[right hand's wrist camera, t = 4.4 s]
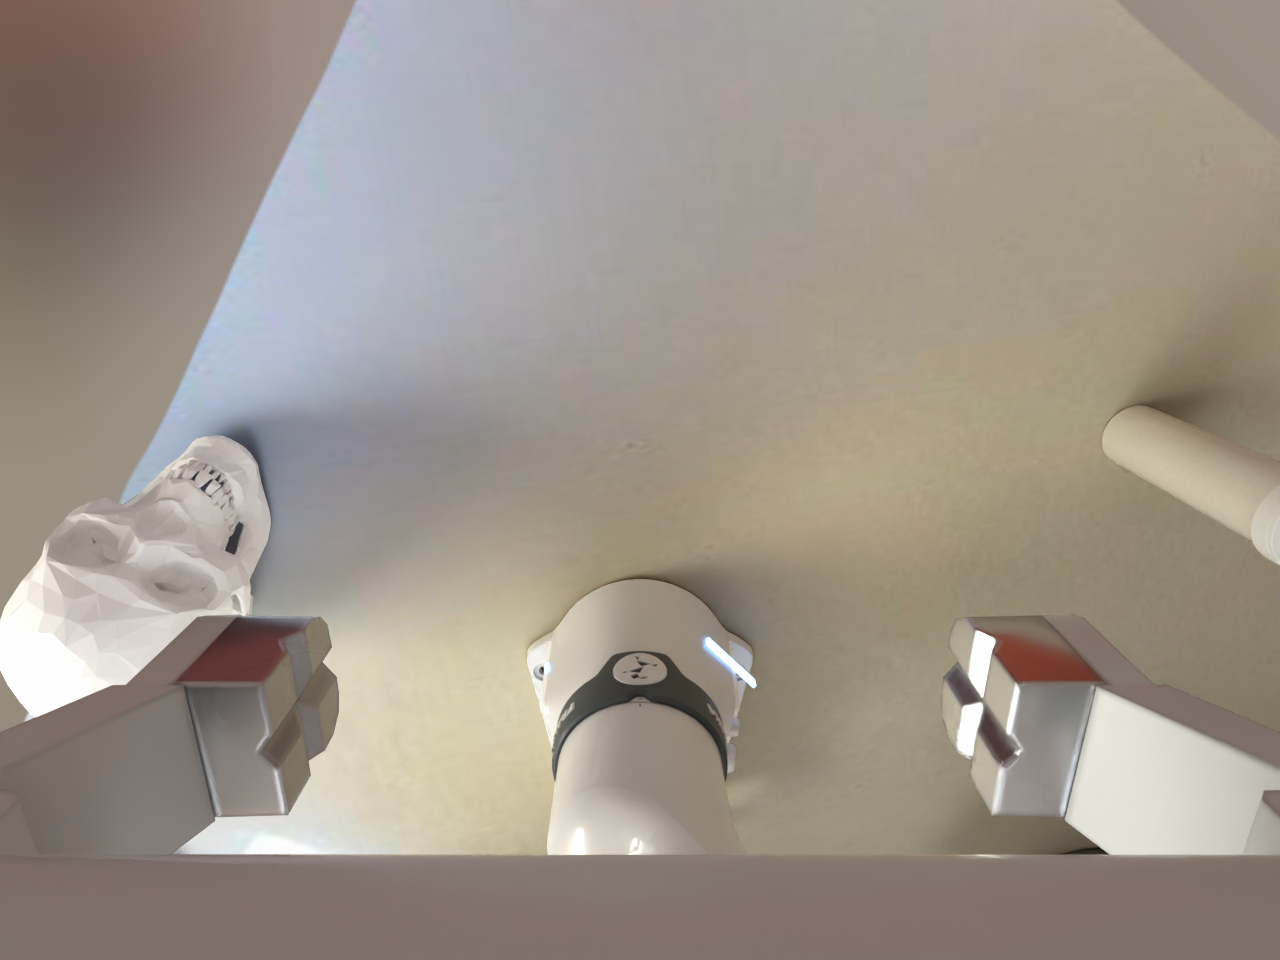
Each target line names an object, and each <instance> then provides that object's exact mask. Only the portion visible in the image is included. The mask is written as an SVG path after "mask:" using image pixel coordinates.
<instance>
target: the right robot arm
mask: <svg viewBox="0 0 1280 960" xmlns="http://www.w3.org/2000/svg"><path fill="white" fill-rule="evenodd" d="M331 648H332V645H331V640H330V635H329V630H328V625H327V624H326V622H325V621H324V620H323V619H322V618H321V617H304V616H251V615H246V616H242V615H207V616H200V617H197V618H196V619H195V620H193V621H192V622H191V623H190V624H189V625H188V626H187V627H186V628H185V629H184V630H183V631H182V632H181V633H180V634H179V635H178V636H177V637H176V638H174V639H173V640H172V641H171V642H170V643H169V644H168V645H167V646H166V647H165V648H164V649H163V650H162V651H161V652H160V653H159V654H158V655H157V656H155V657H154V658H153V659H152V660H151V661H150V662H149V663H148V664H147V665H146V666H145V667H144V668H143V669H142V670H141V671H140V672H139V673H138V674H136V675H135V676H134V677H133V678H132V679H131V680H130V681H129V682H128V683H127V684H126V685H111V686H109V687H107V688H104V689H102V690H99V691H97V692H95V693H92V694H90V695H88V696H85V697H83V698H80V699H78V700H76V701H73V702H71V703H69V704H66V705H64V706H61V707H59V708H57V709H54V710H52V711H50V712H47V713H45V714H43V715H40V716H38V717H35V718H33V719H31V720H28V721H26V722H24V723H21V724H19V725H16V726H14V727H12V728H9V729H7V730H5V731H2V732H0V960H1280V732H1278V731H1275V730H1273V729H1270V728H1268V727H1266V726H1263V725H1261V724H1259V723H1256V722H1254V721H1251V720H1249V719H1247V718H1244V717H1242V716H1240V715H1237V714H1235V713H1233V712H1230V711H1228V710H1225V709H1223V708H1221V707H1218V706H1216V705H1214V704H1211V703H1209V702H1207V701H1204V700H1202V699H1199V698H1197V697H1195V696H1192V695H1190V694H1188V693H1185V692H1183V691H1181V690H1178V689H1176V688H1173V687H1171V686H1169V685H1154V684H1153V683H1152V682H1151V681H1150V680H1149V679H1148V678H1147V677H1146V676H1145V675H1144V674H1143V673H1141V672H1140V671H1139V670H1138V669H1137V668H1136V667H1135V666H1134V665H1133V664H1132V663H1131V662H1130V661H1129V660H1128V659H1127V658H1126V657H1125V656H1124V655H1123V654H1121V653H1120V652H1119V651H1118V650H1117V649H1116V648H1115V647H1114V646H1113V645H1112V644H1111V643H1110V642H1109V641H1108V640H1107V639H1106V638H1105V637H1104V636H1103V635H1102V634H1100V633H1099V632H1098V631H1097V630H1096V629H1095V628H1094V627H1093V626H1092V625H1091V624H1090V623H1089V622H1088V621H1087V620H1086V619H1085V618H1083V617H1080V616H1077V615H1074V614H1072V615H1048V616H1000V617H964V618H957V619H956V620H955V622H954V625H953V627H952V629H951V633H950V639H949V645H948V648H949V649H950V651H951V652H952V654H953V655H954V657H955V658H956V660H957V663H956V664H955V665H954V666H953V667H952V669H951V670H950V671H949V672H948V673H947V674H946V675H945V676H944V677H943V685H942V693H941V707H942V718H943V723H944V726H945V729H946V733H947V736H948V738H949V740H950V742H951V743H952V745H953V747H954V749H955V750H956V751H957V752H959V753H960V754H962V755H963V756H965V757H967V758H968V759H970V760H971V761H972V762H971V768H970V774H969V776H970V777H971V779H972V781H973V783H974V784H975V786H976V788H977V790H978V791H979V793H980V795H981V797H982V798H983V800H984V802H985V804H986V805H987V807H988V809H989V810H990V812H991V814H992V815H1005V816H1042V817H1065V821H1066V822H1068V823H1069V824H1070V825H1071V826H1073V827H1074V828H1075V829H1077V830H1078V831H1079V832H1081V833H1082V834H1083V835H1085V836H1086V837H1087V838H1088V839H1090V840H1091V841H1092V842H1094V843H1095V844H1096V845H1098V846H1099V847H1100V848H1102V849H1103V850H1104V851H1106V852H1107V853H1108V854H1109V855H748V854H747V852H746V851H745V849H744V847H743V845H742V844H741V842H740V840H739V837H738V835H737V832H736V828H735V825H734V821H733V817H732V814H731V810H730V806H729V801H728V796H727V791H726V786H725V780H726V776H727V773H731V772H733V771H734V768H735V763H736V746H735V744H733V743H730V740H731V737H737V736H738V734H739V728H740V722H739V719H737V716H738V713H739V709H740V706H741V702H742V699H743V695H744V692H745V688H746V685H747V683H748V684H749V685H750V686H752V687H753V688H754V687H756V682H755V679H754V678H753V677H752V676H751V675H750V671H751V668H752V664H753V651H752V648H751V647H750V646H749V645H748V644H747V643H746V642H745V641H743V640H742V639H740V638H739V637H737V636H735V635H734V634H732V633H730V632H728V631H727V630H726V629H725V628H724V627H723V626H722V625H721V624H720V623H719V621H718V620H717V618H716V617H715V615H714V614H713V613H712V611H711V610H710V609H709V608H708V607H707V606H706V605H705V604H704V603H703V602H702V601H701V600H700V599H698V598H697V597H696V596H694V595H693V594H691V593H690V592H688V591H686V590H684V589H682V588H680V587H678V586H675V585H673V584H670V583H666V582H662V581H657V580H650V579H630V580H623V581H618V582H614V583H610V584H607V585H605V586H602V587H600V588H598V589H596V590H594V591H592V592H590V593H589V594H587V595H586V596H584V597H583V598H582V599H580V600H579V601H578V602H577V603H576V604H575V605H574V606H573V607H572V608H571V609H570V610H569V612H568V613H567V614H566V616H565V617H564V618H563V620H562V621H561V623H560V624H559V625H558V626H557V627H556V628H555V629H554V630H553V631H552V632H550V633H548V634H547V635H545V636H543V637H541V638H540V639H538V640H537V641H535V642H534V643H533V644H532V645H531V646H530V647H529V649H528V651H527V664H528V667H529V671H530V674H531V678H532V681H533V685H534V688H535V692H536V695H537V699H538V702H539V706H540V709H541V712H542V716H543V719H544V723H545V726H546V730H547V733H548V737H549V740H550V744H551V747H552V754H553V759H552V769H553V776H554V780H555V788H554V795H553V802H552V810H551V817H550V824H549V831H548V838H547V852H548V855H171V854H172V853H173V852H175V851H176V850H177V849H179V848H180V847H181V846H183V845H184V844H185V843H187V842H188V841H189V840H190V839H192V838H193V837H194V836H196V835H197V834H198V833H200V832H201V831H202V830H204V829H205V828H206V827H208V826H209V825H210V824H211V823H213V822H214V821H215V817H237V816H273V815H288V814H289V812H290V811H291V809H292V807H293V805H294V804H295V802H296V800H297V798H298V797H299V795H300V793H301V791H302V790H303V788H304V786H305V784H306V783H307V781H308V779H309V777H310V776H311V774H310V768H309V762H308V761H309V760H310V759H312V758H313V757H315V756H317V755H318V754H320V753H321V752H323V751H324V750H325V749H326V747H327V745H328V743H329V741H330V740H331V738H332V736H333V734H334V729H335V725H336V721H337V717H338V713H339V691H338V684H337V677H336V676H335V675H334V674H333V673H332V672H331V671H330V670H329V669H328V668H327V666H326V665H325V664H324V663H323V660H324V658H325V657H326V655H327V654H328V652H329V651H330V649H331ZM541 667H544V670H542V669H541Z"/></svg>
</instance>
